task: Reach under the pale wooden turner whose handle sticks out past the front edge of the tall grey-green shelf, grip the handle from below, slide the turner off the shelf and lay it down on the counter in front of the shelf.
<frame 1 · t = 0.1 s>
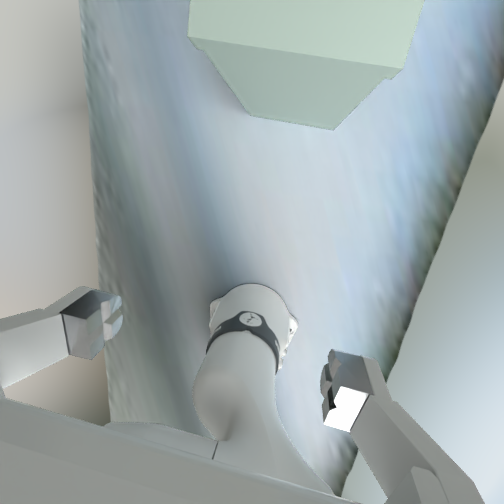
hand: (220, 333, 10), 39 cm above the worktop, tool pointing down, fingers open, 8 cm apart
shelf: (304, 59, 39), on the worktop
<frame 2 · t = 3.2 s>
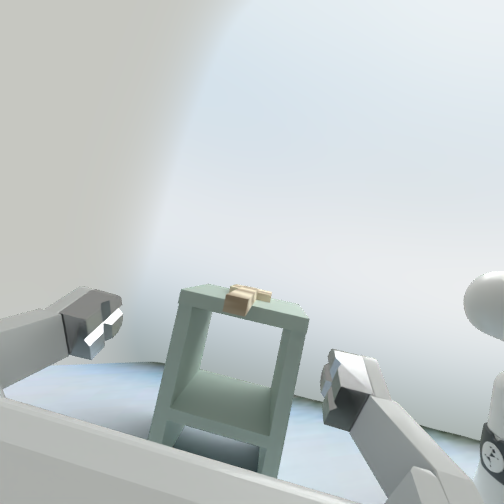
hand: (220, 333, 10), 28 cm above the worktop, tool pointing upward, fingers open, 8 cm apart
turner: (249, 297, 42), point 26 cm above the worktop, touching shelf
shelf: (214, 458, 40), on the worktop
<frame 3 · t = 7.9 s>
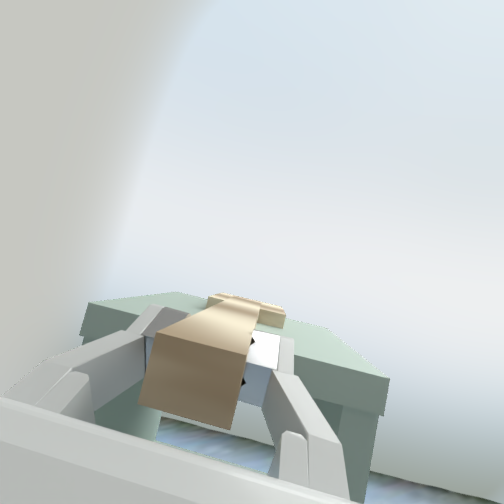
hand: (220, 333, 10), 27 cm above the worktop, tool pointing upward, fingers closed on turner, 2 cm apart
turner: (243, 319, 22), point 26 cm above the worktop, touching gripper, shelf
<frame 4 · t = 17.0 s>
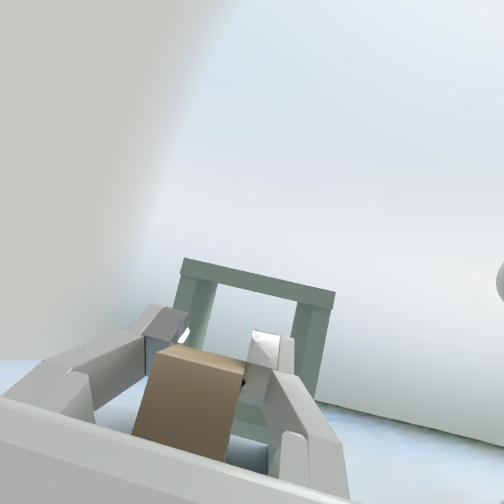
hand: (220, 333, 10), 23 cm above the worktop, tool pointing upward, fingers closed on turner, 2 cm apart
shelf: (217, 464, 34), on the worktop
when the fingers open (22 cm above the worktop, at t = 18.1 s): turner drops 5 cm and tips over, point 2 cm above the worktop.
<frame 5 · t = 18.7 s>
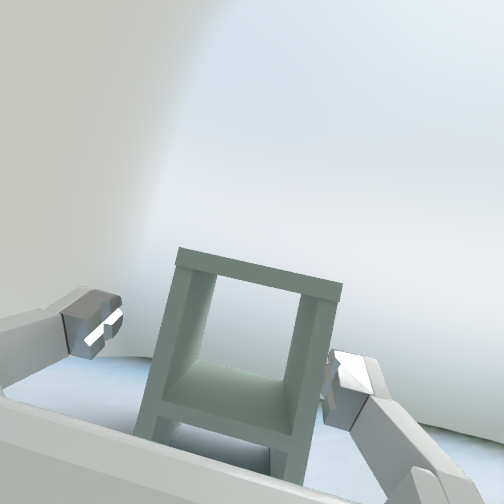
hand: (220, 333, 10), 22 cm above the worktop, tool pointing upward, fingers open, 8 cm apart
shelf: (216, 467, 32), on the worktop
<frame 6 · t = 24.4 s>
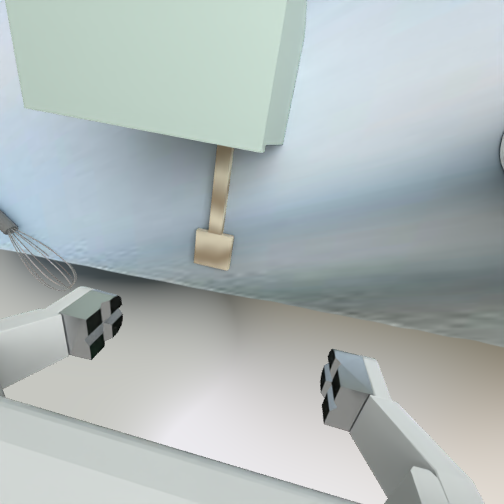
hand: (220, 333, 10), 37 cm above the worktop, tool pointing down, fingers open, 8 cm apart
turner: (214, 233, 47), point 2 cm above the worktop, tilted 180°
shelf: (234, 84, 39), on the worktop
kitchen whisk: (24, 229, 57), on the worktop
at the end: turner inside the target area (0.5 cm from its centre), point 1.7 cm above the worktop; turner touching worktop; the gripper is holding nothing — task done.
